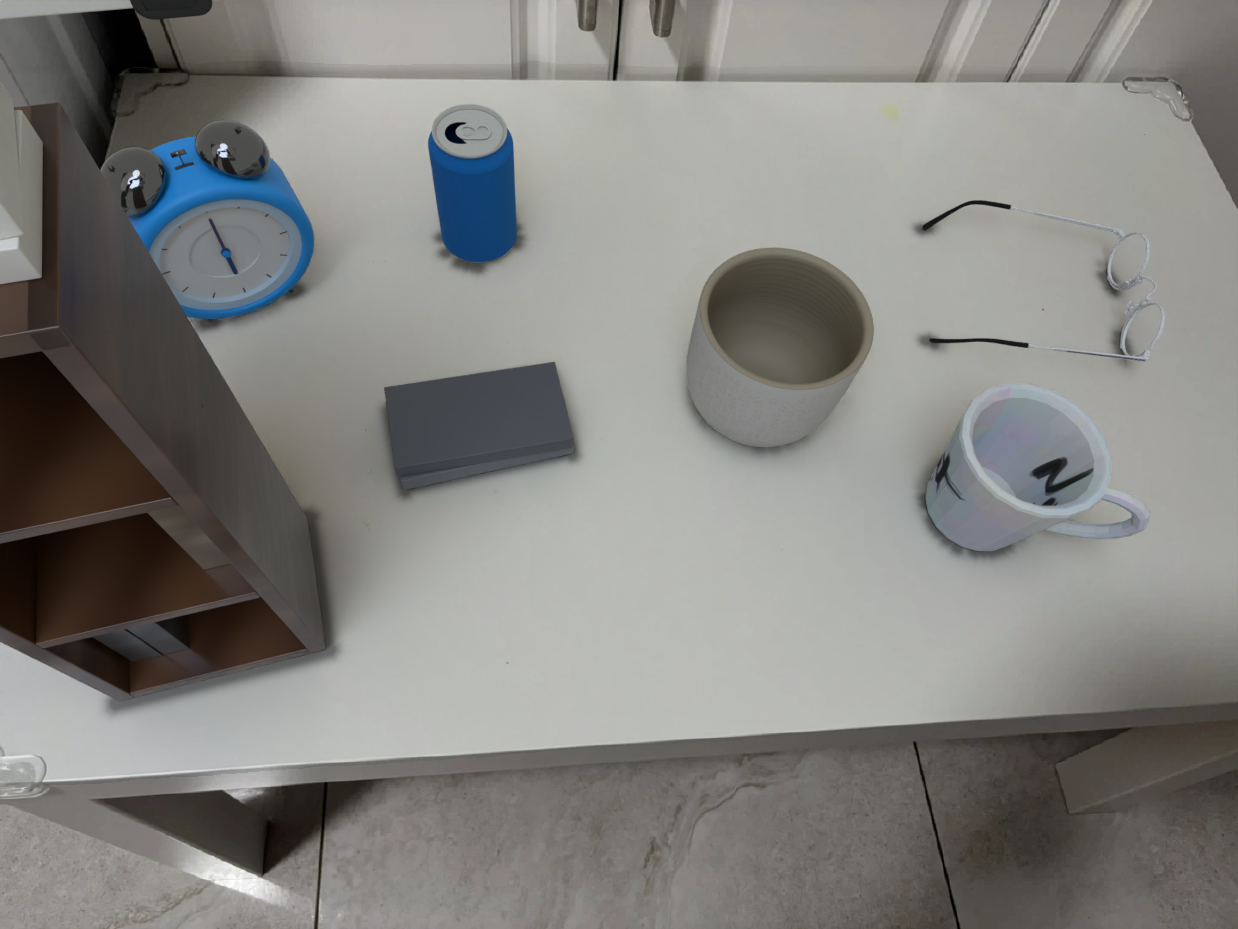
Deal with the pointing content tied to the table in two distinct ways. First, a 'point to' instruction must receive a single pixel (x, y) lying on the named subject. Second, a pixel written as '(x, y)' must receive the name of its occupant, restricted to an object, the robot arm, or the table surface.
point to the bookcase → (132, 467)
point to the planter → (775, 345)
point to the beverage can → (474, 182)
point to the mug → (1025, 472)
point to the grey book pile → (476, 423)
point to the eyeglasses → (1123, 286)
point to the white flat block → (57, 7)
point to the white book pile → (19, 195)
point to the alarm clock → (215, 218)
